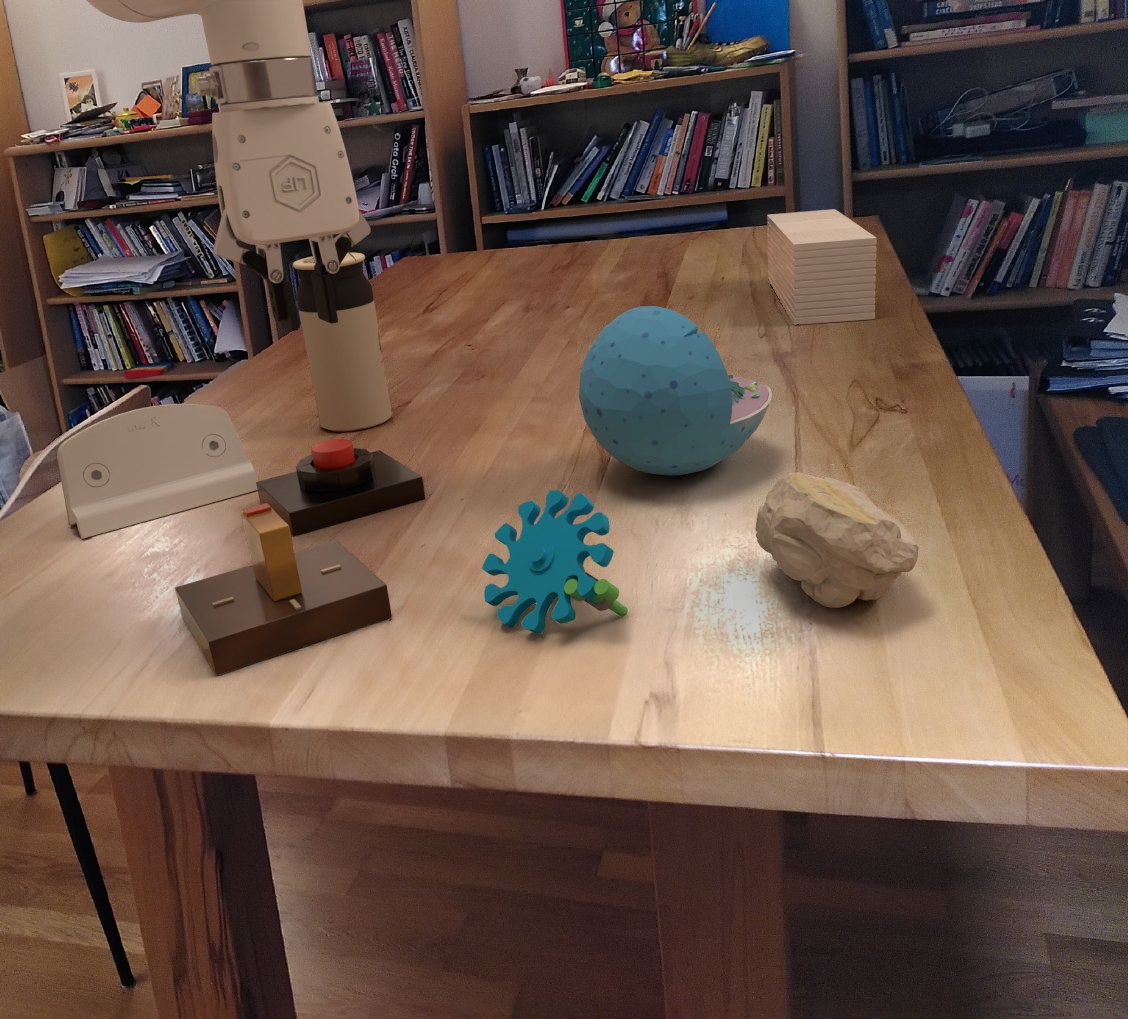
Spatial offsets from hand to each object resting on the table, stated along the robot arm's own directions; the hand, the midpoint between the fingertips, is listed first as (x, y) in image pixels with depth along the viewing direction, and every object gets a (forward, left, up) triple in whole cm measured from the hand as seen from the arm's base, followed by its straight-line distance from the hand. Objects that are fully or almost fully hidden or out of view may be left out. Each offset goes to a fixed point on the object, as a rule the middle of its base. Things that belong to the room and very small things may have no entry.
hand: (309, 322), depth 87 cm
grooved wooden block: (+85, +29, -16) cm, 91 cm away
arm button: (0, 0, -13) cm, 13 cm away
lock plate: (-11, -19, -16) cm, 27 cm away
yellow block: (-11, -19, -14) cm, 26 cm away
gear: (+4, -31, -16) cm, 35 cm away
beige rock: (+20, -40, -16) cm, 48 cm away
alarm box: (0, 0, -16) cm, 16 cm away
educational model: (+27, -14, -16) cm, 35 cm away
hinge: (-13, +12, -16) cm, 24 cm away
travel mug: (+10, +23, -16) cm, 30 cm away
